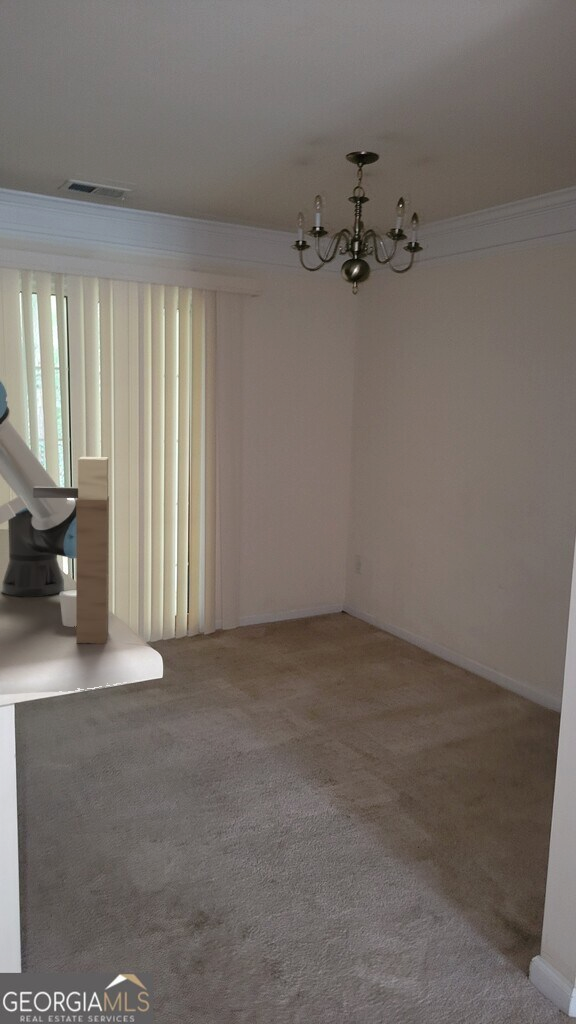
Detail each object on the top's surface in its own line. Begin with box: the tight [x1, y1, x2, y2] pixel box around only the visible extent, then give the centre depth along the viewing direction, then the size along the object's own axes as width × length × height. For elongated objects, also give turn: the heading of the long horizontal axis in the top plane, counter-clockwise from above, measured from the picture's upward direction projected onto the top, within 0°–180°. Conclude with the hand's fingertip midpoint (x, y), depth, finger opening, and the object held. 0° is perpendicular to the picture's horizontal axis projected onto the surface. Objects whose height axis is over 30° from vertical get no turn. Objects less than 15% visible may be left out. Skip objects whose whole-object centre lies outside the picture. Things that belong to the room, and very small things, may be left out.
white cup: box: [59, 588, 77, 628], centre depth 168 cm, size 7×7×7 cm
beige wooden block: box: [33, 456, 109, 500], centre depth 153 cm, size 7×14×8 cm, turn 100°
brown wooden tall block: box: [75, 495, 110, 644], centre depth 156 cm, size 8×6×29 cm
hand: (18, 505), depth 152 cm, fingers open, 13 cm apart
